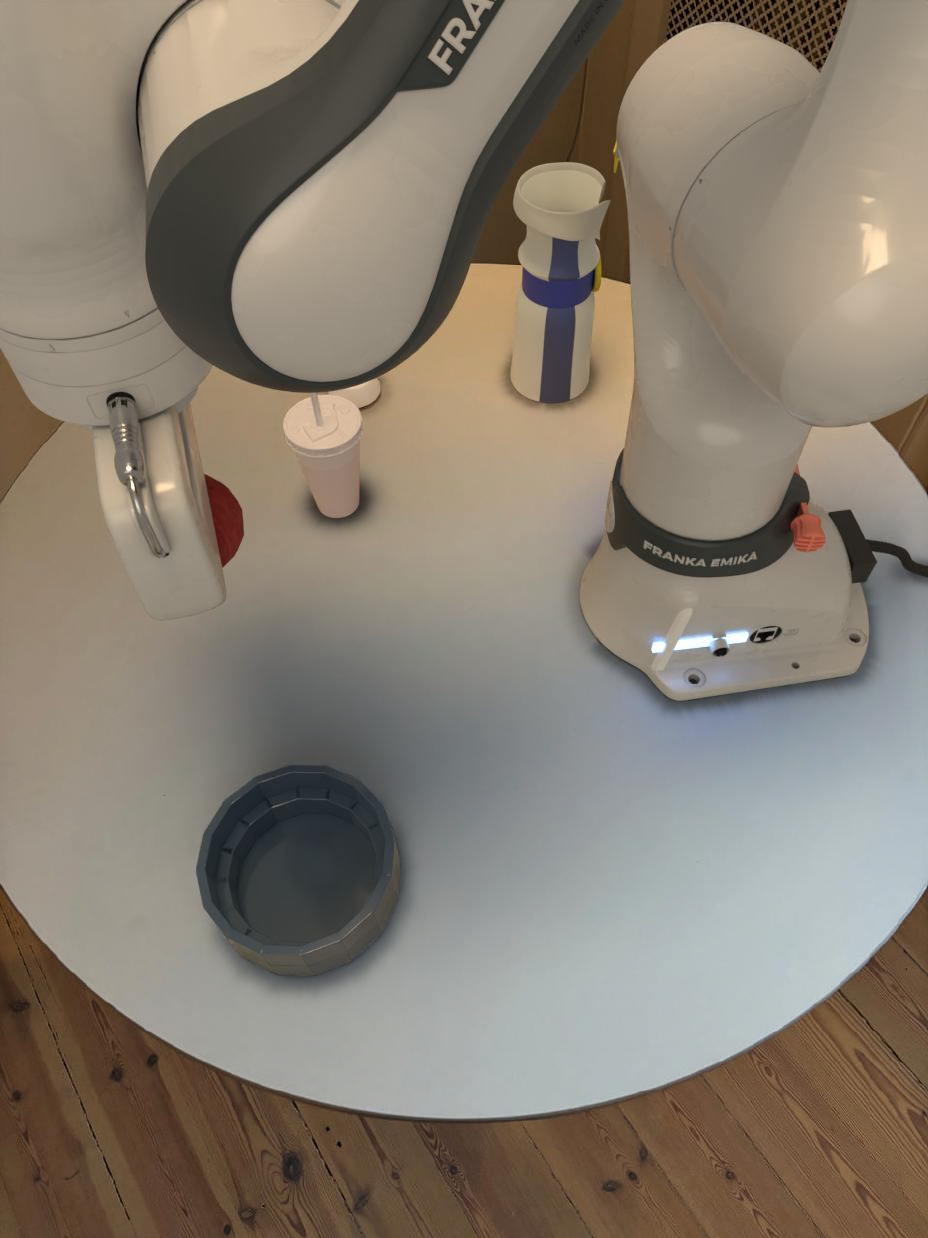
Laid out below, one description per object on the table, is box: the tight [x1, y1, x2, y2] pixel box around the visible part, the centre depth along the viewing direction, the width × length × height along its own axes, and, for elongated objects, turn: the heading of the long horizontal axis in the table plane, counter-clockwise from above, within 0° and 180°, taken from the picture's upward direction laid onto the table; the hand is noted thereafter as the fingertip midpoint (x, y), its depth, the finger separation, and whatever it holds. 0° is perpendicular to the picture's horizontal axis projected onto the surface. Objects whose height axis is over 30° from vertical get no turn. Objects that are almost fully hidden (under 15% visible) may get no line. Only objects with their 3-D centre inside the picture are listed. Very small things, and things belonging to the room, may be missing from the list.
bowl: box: [195, 764, 402, 977], centre depth 59 cm, size 12×12×6 cm
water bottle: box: [510, 136, 620, 404], centre depth 79 cm, size 8×9×25 cm
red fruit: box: [204, 473, 245, 569], centre depth 51 cm, size 6×6×8 cm
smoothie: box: [282, 393, 365, 519], centre depth 75 cm, size 6×6×14 cm
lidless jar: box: [327, 377, 381, 409], centre depth 87 cm, size 5×3×5 cm
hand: (193, 531), depth 52 cm, fingers closed on red fruit, 6 cm apart
